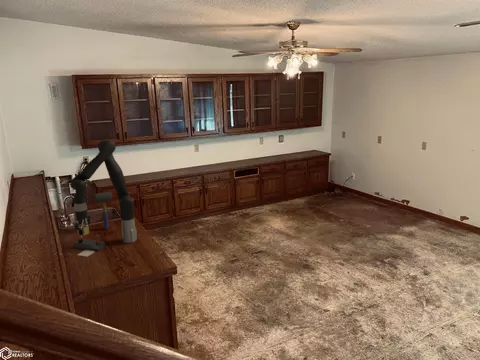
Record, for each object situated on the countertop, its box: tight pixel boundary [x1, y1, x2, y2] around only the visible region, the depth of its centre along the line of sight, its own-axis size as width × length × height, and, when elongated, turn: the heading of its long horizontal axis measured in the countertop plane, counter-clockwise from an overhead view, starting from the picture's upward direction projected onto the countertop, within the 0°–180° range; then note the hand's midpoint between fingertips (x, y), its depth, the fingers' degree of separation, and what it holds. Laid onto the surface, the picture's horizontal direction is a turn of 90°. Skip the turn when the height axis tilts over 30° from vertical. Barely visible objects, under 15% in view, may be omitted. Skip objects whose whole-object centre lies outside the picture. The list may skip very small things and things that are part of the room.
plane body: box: [73, 234, 106, 252], centre depth 256 cm, size 20×7×10 cm, turn 73°
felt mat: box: [77, 249, 96, 258], centre depth 248 cm, size 8×8×1 cm
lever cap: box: [76, 225, 90, 236], centre depth 244 cm, size 6×4×6 cm
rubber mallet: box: [94, 191, 113, 230], centre depth 286 cm, size 12×8×30 cm, turn 117°
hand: (83, 233), depth 245 cm, fingers closed on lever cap, 4 cm apart
